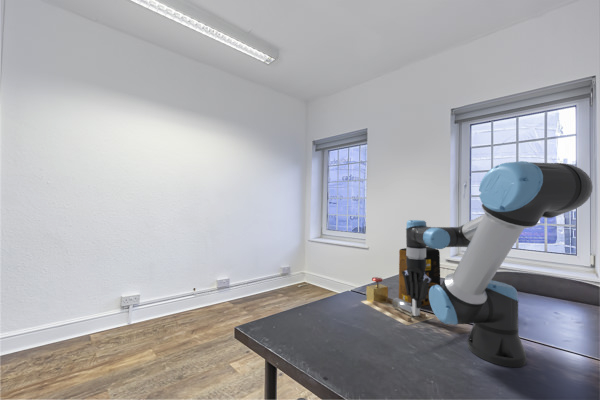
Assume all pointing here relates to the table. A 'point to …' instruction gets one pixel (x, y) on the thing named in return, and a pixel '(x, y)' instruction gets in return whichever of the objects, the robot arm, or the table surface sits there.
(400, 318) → the board
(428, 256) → the black and orange box
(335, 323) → the table surface
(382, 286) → the valve
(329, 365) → the table surface
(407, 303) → the silver metal cylinder
